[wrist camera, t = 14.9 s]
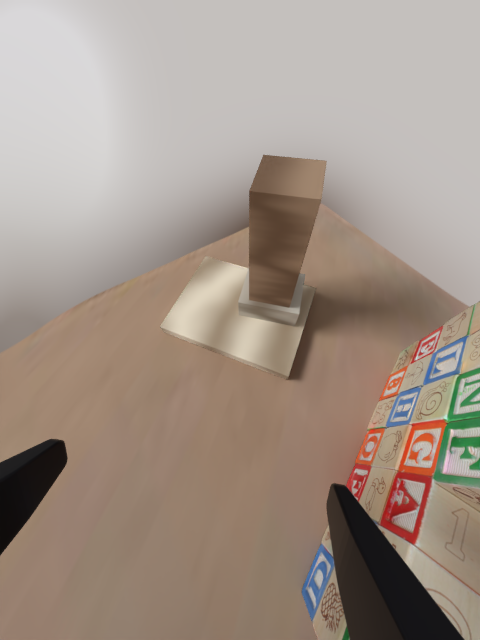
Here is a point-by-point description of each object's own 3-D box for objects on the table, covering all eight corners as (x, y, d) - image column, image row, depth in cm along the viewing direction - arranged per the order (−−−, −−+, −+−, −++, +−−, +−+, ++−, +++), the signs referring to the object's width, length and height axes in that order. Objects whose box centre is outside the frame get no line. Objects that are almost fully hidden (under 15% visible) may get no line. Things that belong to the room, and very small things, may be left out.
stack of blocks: (391, 681, 14) (948, 1591, 3) (298, 590, 15) (413, 918, 5) (466, 385, 22) (682, 325, 11) (399, 349, 24) (526, 268, 13)
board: (313, 294, 27) (316, 287, 26) (286, 379, 22) (288, 376, 21) (207, 262, 30) (205, 255, 29) (163, 331, 25) (159, 326, 24)
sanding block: (300, 288, 26) (343, 158, 14) (294, 326, 24) (340, 207, 12) (249, 279, 27) (250, 149, 15) (238, 315, 25) (230, 194, 13)
